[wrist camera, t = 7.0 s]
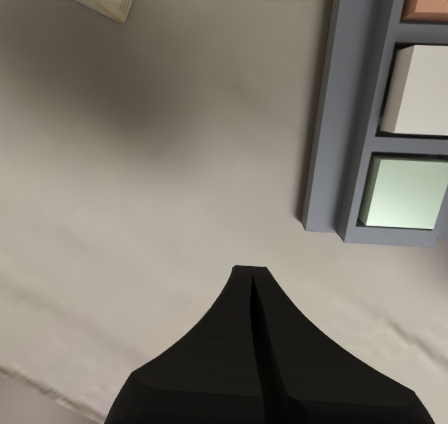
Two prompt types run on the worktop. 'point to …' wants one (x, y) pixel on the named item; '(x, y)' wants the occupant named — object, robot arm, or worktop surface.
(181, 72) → the worktop surface
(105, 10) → the skincare box
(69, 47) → the worktop surface
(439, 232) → the button panel
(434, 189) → the green button
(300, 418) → the robot arm
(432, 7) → the terracotta button
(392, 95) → the cream button
